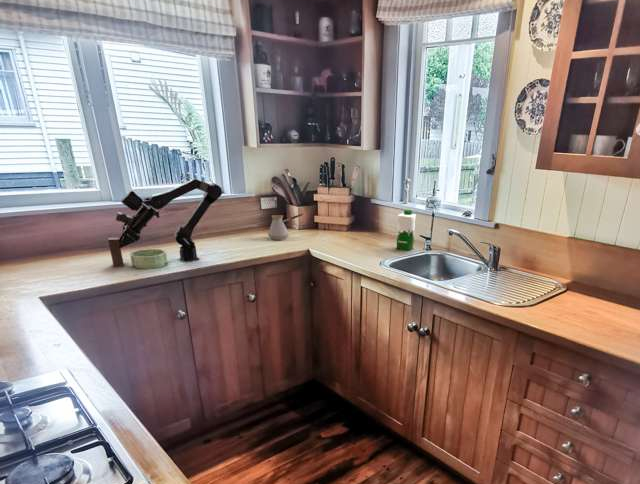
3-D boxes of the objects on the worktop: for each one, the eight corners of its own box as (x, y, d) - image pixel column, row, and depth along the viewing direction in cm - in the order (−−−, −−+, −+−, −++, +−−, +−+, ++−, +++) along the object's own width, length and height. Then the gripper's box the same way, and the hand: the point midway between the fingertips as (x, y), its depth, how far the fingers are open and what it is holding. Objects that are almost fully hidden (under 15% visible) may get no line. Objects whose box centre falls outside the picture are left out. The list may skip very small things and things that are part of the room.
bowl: (157, 258, 219) (155, 247, 216) (174, 264, 211) (172, 252, 208) (126, 264, 208) (123, 252, 206) (142, 271, 200) (140, 258, 198)
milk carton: (414, 247, 255) (417, 210, 247) (409, 251, 247) (412, 212, 239) (399, 245, 258) (401, 208, 249) (394, 249, 250) (396, 211, 242)
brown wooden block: (123, 263, 209) (118, 237, 204) (123, 266, 206) (118, 239, 201) (113, 264, 208) (108, 237, 202) (113, 267, 204) (108, 239, 199)
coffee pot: (264, 240, 260) (263, 212, 254) (273, 236, 270) (271, 209, 264) (301, 243, 256) (300, 215, 250) (308, 238, 267) (307, 212, 260)
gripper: (124, 202, 206) (101, 228, 206) (125, 208, 191) (101, 237, 191) (147, 219, 213) (125, 244, 213) (149, 227, 198) (125, 254, 198)
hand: (119, 245), depth 204 cm, fingers open, 9 cm apart
